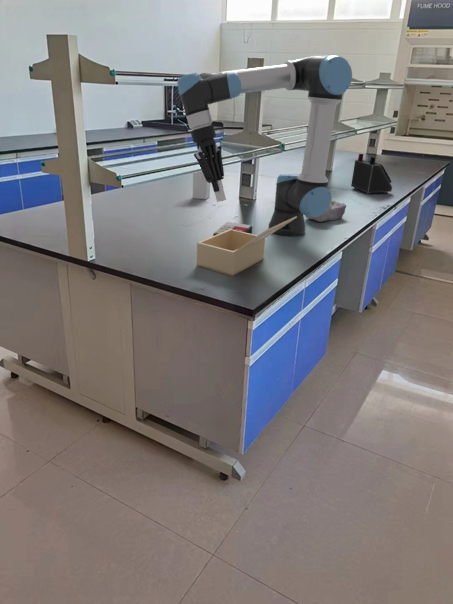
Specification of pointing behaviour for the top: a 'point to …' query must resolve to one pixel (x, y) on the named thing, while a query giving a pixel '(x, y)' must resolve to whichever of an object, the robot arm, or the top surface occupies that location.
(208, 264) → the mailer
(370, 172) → the voltmeter
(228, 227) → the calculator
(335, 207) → the grey rock
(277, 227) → the lid
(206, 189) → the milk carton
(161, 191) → the top surface
